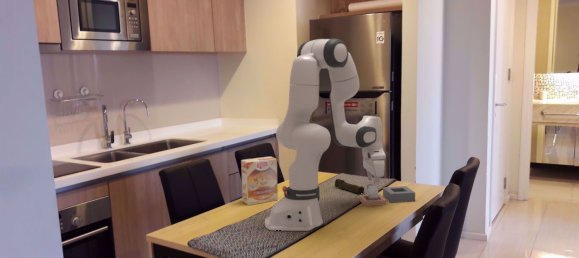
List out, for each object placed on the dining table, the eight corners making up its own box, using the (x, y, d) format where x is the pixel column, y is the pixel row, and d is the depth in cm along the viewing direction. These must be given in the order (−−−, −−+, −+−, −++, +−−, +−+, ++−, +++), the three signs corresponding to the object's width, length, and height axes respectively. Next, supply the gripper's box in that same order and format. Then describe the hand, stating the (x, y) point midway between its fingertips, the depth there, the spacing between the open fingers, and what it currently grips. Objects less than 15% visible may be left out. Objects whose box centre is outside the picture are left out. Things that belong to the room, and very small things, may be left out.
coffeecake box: (248, 205, 193) (246, 162, 191) (242, 201, 199) (240, 159, 197) (278, 200, 200) (277, 158, 198) (271, 196, 206) (270, 155, 204)
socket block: (390, 202, 192) (390, 193, 191) (382, 195, 202) (382, 187, 202) (415, 201, 193) (415, 192, 192) (406, 194, 203) (406, 186, 203)
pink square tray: (364, 205, 188) (364, 201, 188) (359, 199, 198) (359, 195, 197) (386, 204, 189) (386, 200, 189) (379, 198, 198) (379, 194, 198)
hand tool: (364, 194, 207) (364, 184, 206) (358, 195, 205) (358, 186, 204) (339, 186, 223) (339, 177, 222) (333, 187, 221) (333, 178, 220)
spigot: (369, 203, 191) (369, 185, 190) (366, 201, 195) (366, 183, 194) (378, 203, 192) (378, 185, 190) (375, 200, 195) (375, 183, 194)
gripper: (359, 147, 201) (360, 177, 202) (372, 156, 180) (372, 189, 182) (372, 147, 201) (373, 176, 203) (387, 155, 181) (387, 188, 183)
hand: (373, 182), depth 193 cm, fingers open, 8 cm apart
